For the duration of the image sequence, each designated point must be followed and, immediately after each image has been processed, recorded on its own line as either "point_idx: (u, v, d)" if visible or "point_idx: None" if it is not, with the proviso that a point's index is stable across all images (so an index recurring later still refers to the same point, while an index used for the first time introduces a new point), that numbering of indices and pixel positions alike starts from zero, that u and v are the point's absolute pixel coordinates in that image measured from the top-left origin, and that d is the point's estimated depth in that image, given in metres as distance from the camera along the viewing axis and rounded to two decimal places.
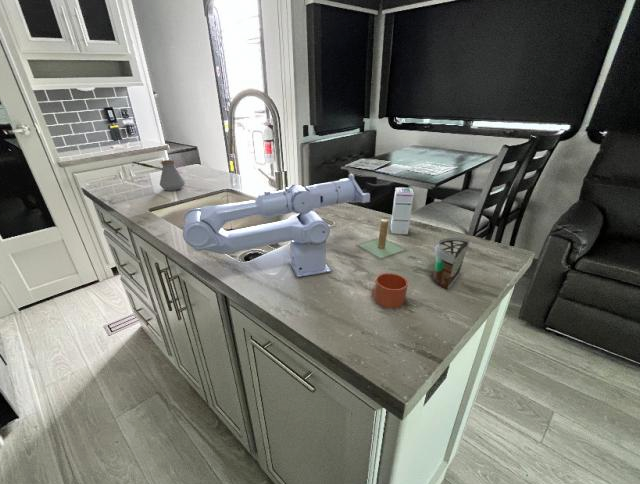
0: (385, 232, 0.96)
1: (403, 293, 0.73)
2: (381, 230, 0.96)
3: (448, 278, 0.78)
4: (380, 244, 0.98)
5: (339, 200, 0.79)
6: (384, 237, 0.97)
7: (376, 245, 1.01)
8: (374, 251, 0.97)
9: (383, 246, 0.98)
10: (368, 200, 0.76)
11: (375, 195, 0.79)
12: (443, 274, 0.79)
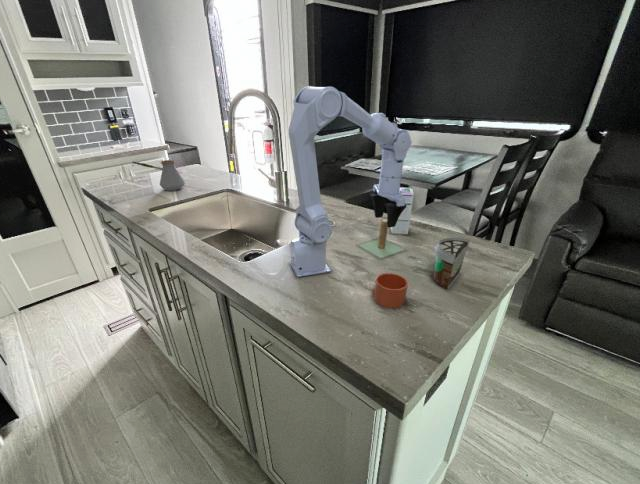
0: (385, 232, 0.96)
1: (403, 293, 0.73)
2: (381, 230, 0.96)
3: (448, 278, 0.78)
4: (380, 244, 0.98)
5: (391, 179, 0.86)
6: (384, 237, 0.97)
7: (376, 245, 1.01)
8: (374, 251, 0.97)
9: (383, 246, 0.98)
10: (399, 205, 0.85)
11: (391, 213, 0.89)
12: (443, 274, 0.79)
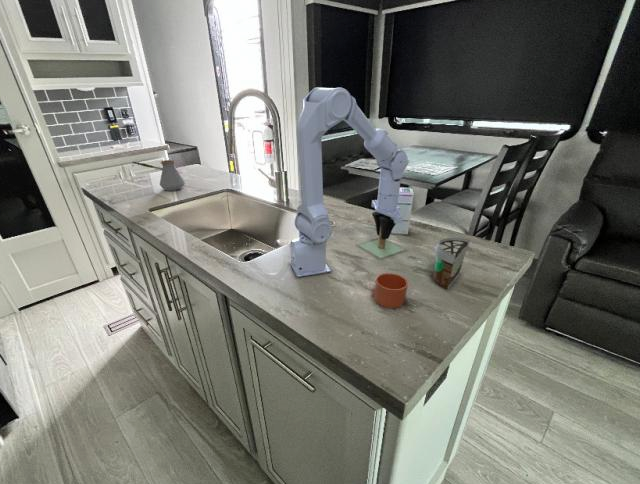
0: None
1: (403, 293, 0.73)
2: None
3: (448, 278, 0.78)
4: (380, 244, 0.98)
5: (389, 197, 0.89)
6: None
7: (376, 245, 1.01)
8: (374, 251, 0.97)
9: (383, 246, 0.98)
10: (396, 222, 0.88)
11: (385, 226, 0.94)
12: (443, 274, 0.79)
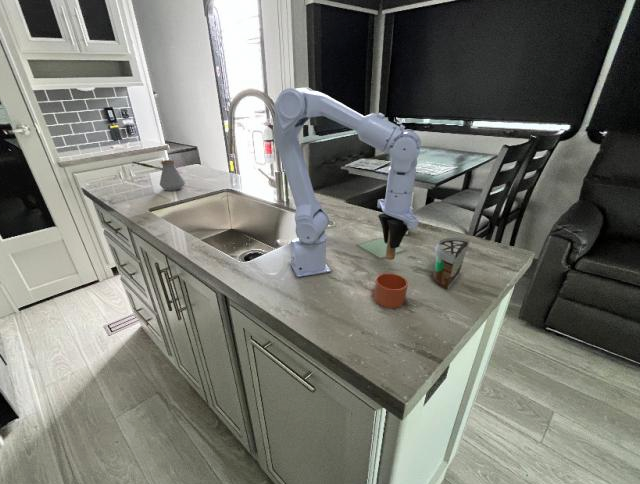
0: None
1: (403, 293, 0.73)
2: None
3: (448, 278, 0.78)
4: (388, 254, 0.79)
5: (401, 195, 0.69)
6: None
7: (376, 245, 1.01)
8: (374, 251, 0.97)
9: (392, 256, 0.79)
10: (411, 227, 0.68)
11: None
12: (443, 274, 0.79)
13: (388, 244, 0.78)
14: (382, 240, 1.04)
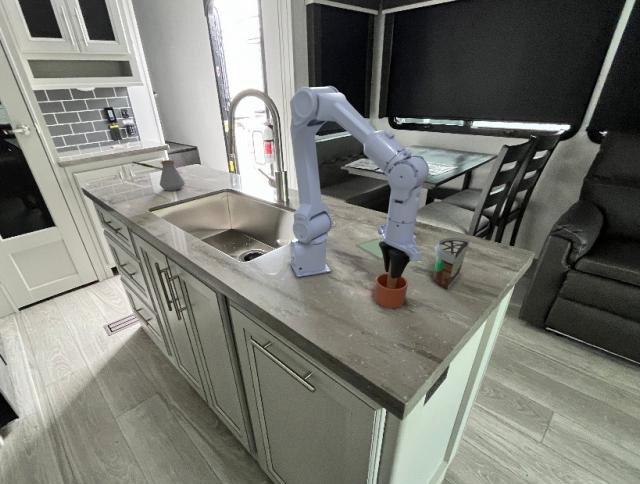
0: None
1: (403, 293, 0.73)
2: None
3: (448, 278, 0.78)
4: (390, 284, 0.74)
5: (403, 225, 0.64)
6: None
7: (376, 245, 1.01)
8: (374, 251, 0.97)
9: (394, 286, 0.74)
10: (414, 260, 0.63)
11: (396, 262, 0.69)
12: (443, 274, 0.79)
13: (389, 274, 0.73)
14: (382, 240, 1.04)
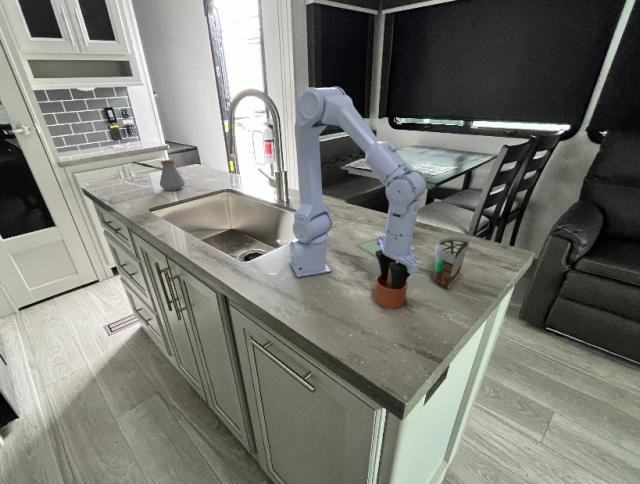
0: None
1: (403, 293, 0.73)
2: (390, 277, 0.73)
3: (448, 278, 0.78)
4: None
5: (401, 238, 0.66)
6: None
7: (376, 245, 1.01)
8: (374, 251, 0.97)
9: None
10: (411, 272, 0.65)
11: None
12: (443, 274, 0.79)
13: (388, 284, 0.74)
14: None
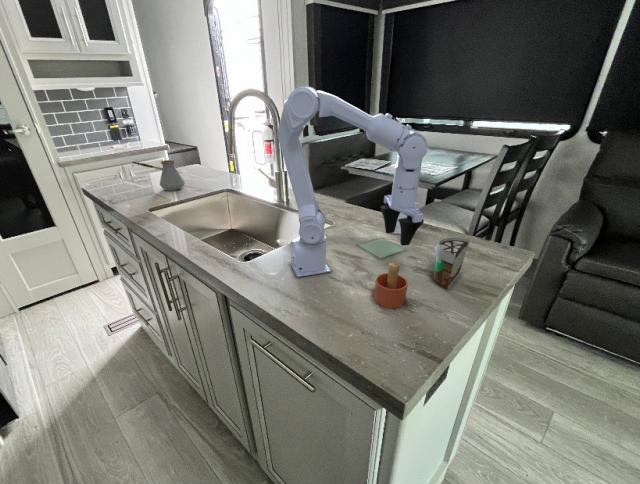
0: (395, 279, 0.73)
1: (403, 293, 0.73)
2: (390, 277, 0.73)
3: (448, 278, 0.78)
4: None
5: (406, 191, 0.74)
6: (394, 285, 0.74)
7: (376, 245, 1.01)
8: (374, 251, 0.97)
9: None
10: (416, 221, 0.73)
11: (406, 229, 0.77)
12: (443, 274, 0.79)
13: (388, 284, 0.74)
14: (382, 240, 1.04)
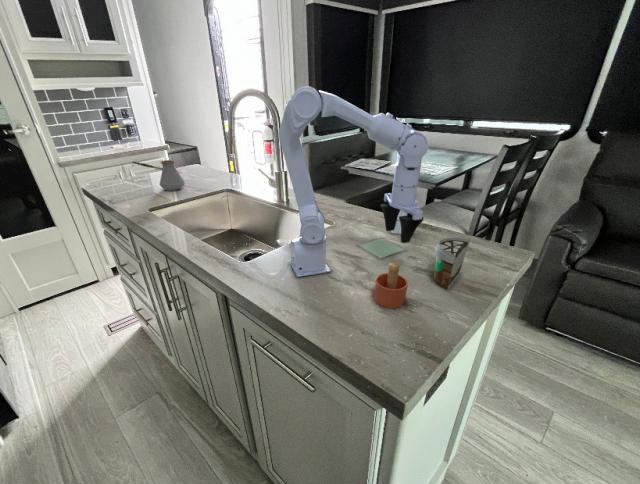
0: (395, 279, 0.73)
1: (403, 293, 0.73)
2: (390, 277, 0.73)
3: (448, 278, 0.78)
4: None
5: (406, 189, 0.75)
6: (394, 285, 0.74)
7: (376, 245, 1.01)
8: (374, 251, 0.97)
9: None
10: (416, 218, 0.74)
11: None
12: (443, 274, 0.79)
13: (388, 284, 0.74)
14: (382, 240, 1.04)
